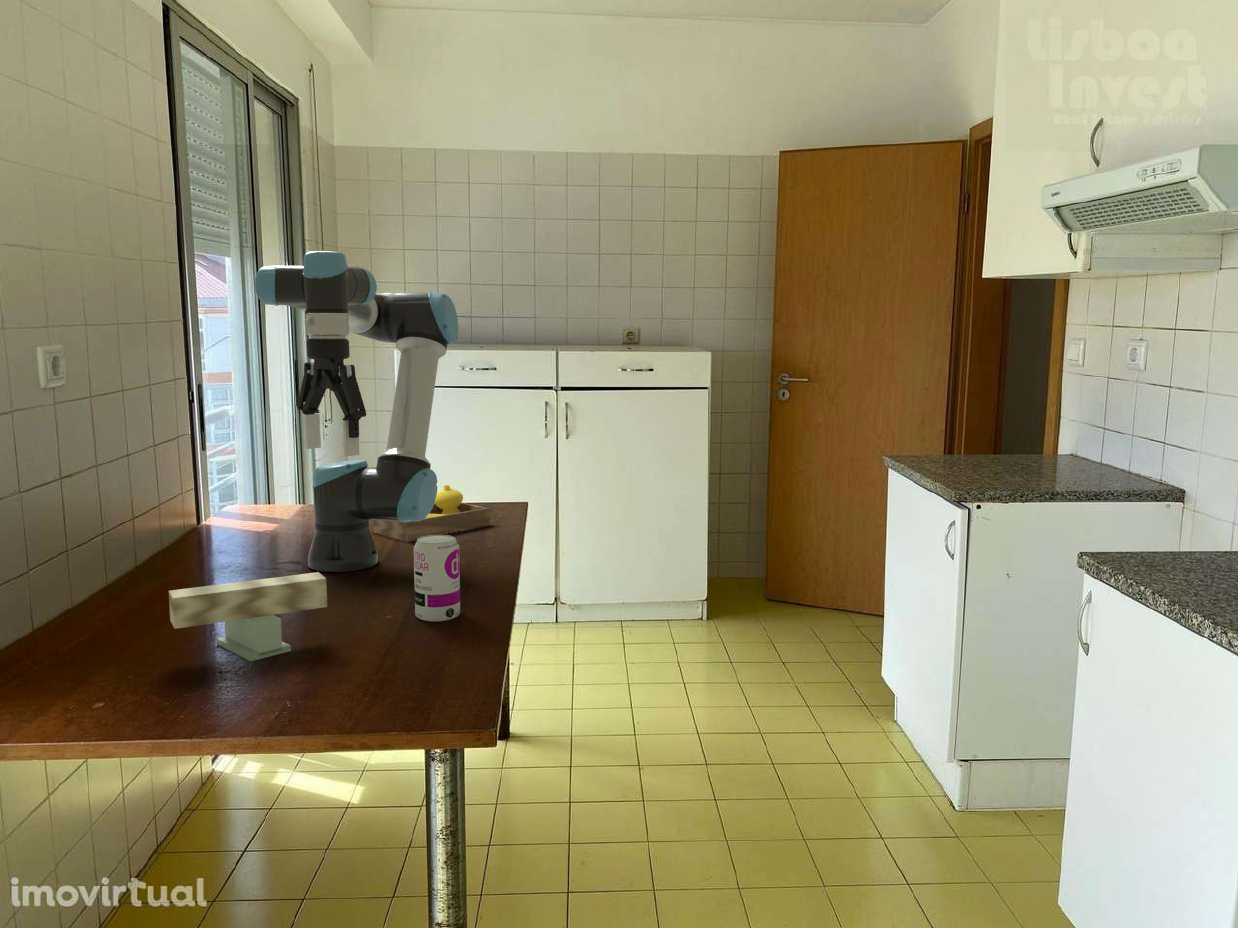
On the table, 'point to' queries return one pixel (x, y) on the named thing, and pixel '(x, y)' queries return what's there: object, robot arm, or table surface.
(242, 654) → the stepped block
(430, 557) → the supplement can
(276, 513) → the table surface
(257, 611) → the beam
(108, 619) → the table surface
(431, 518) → the tray
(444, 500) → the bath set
